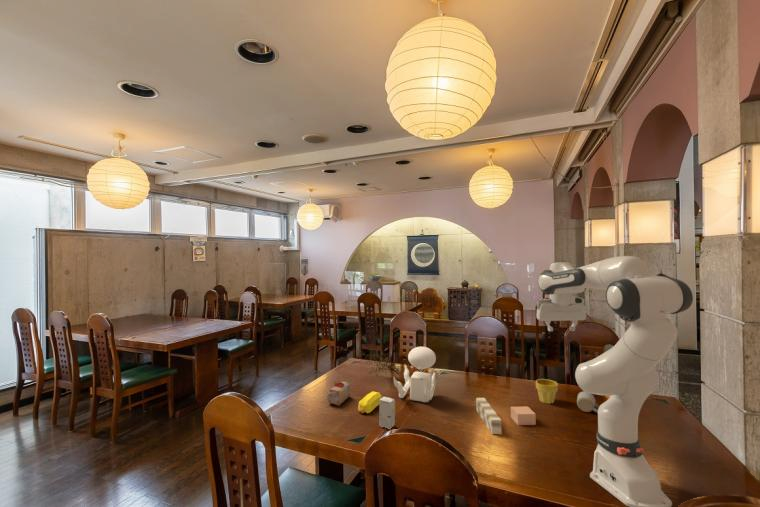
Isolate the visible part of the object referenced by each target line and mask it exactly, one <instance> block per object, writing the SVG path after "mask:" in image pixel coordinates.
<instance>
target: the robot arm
mask: <svg viewBox="0 0 760 507" xmlns="http://www.w3.org/2000/svg"><path fill="white" fill-rule="evenodd" d="M537 286H538V289H540V291H542V293H544V294H545V295H547V296H549V297H548V298H544V299H543V298H542V299H539V300H538V301H537V302H536V316H535V318H536V319H537V320H538V321H540V322H544V323H545V325H546V327H547V331H548V332H554V327H553V326H551V325H550V324H551V322H560V321H561V322H564V321H565V322H566V321H567V322H568V321H571V322H572V324H571V325H569V326H568V327H569V331H571V332H574V331H575V332H576V326H577V325H578V322H579V321H585V320H587V308H586V305H585V298H582V297H578V296H576V295H573V294H581V293H584V292H585V291H586V290H587V289H590V290H596V291H597V290H599V291H605V299H606V304H607V305H608V306H609V308H610V309H611V311H613V312H614V314H616V315H618V316H619V318H620V319H621V320H623V321H625V322H628V323H630V326H629V327H628V328H627V329H626V331H625V332H624V333H623V335H622V336H621V337H620V338H619V339H618V341H617V342H616V343H615V345H613V346H612V347H611V348H610V349H608V350H606V351H605V352H603V353H601V354H600V355H598V356H596V357H595V358H593V359H590V360H587V361H585V362H582V363H579V364H578V365H577V367H576V369H575V373H574V377H575V381H576V383H577V385H578V387H579V388H580V389H581V390H582V392H583V391H584V392H586V393H591V394H592V395H598V396H609V398H608V399H607V400H606V401H604V402H603V403H601V404H600V405H599V406H600V407H599V409H598V408H597V410H598V413H597V430H596V442H597V446H596V449H595V450H594V454H593V464H592V466H593V467H592V471H591V472H590V473H589V478H590V479H592V480H593V481H594V482H596V483H597V484H598V485H600V486H601V487H602V489H605V490H606V491H607V492H608V493H610V494H611V495H612V496H614V497H615V498H617V500H619V501H620V502H621V503H623V505H625V506H626V507H672V506H673V502H672V500H671V499H670V498H669V497H668V496H667V495H666V494H665V493H664V491H663V490H662V486H661V482H660V479H659V474H658V471H657V470H656V469H653V468H652V467H651V465H650V463H649V462H648V460H647V459H646V458H645V456H644V455H643V454H644V453H645V451H644V450H645V448H642V445H641V444H642V443H641V441H640V439H639V437H638V436H639V433H638V430H639V429H638V428H639V426H638V425H639V416H640V412H641V409H642V407H643V404H644V403H645V401H646V400H647V399H648V397H649V396H650V395H651V394H652V393H655V391H656V390H658V387H659V385H660V378H659V375H658V372H657V370H656V369H655V367H656V366H657V365H658V364H659V363H660V362H661V361H662V360H663V359H664V358H665V356H666V355H668V353H669V352H670V351H671V349H672V347H673V346H674V344H675V342H676V340H677V337H678V334H679V333H678V328H677V326H676V324H675V323H674V322H673V321H672V320H671V319H669V318H668V317H667V315H670V314H671V315H676V314H680V313H683V312H685V311H687V310H688V309H690V308H691V306H692V305H693V302H694V301H693V299H694V298H693V292H692V290H691V288H690V286H689V285H688V284H687V283H686V282H684V281H683V280H680V279H679V278H678V279H677V278H674V277H671V276H668V275H666V274H664V273H658V274H653V273H651V272H650V270H649V267H648V265H647V263H646V262H645V261H644V260H643V259H641V258H639V257H637V256H632V255H631V256H630V255H621V256H613V257H609V258H605V259H602V260H599V261H596V262H595V261H594V262H593V263H590V264H586V265H583V266H580V267H576V268H574V267H573V266H572V264H571V262H569V261H555V262H552V263H551V264H550V265H549V269H545V270H543V271H542V272H541V273H540V274H539V276H538V278H537Z"/></svg>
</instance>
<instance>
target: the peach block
mask: <svg viewBox="0 0 760 507" xmlns="http://www.w3.org/2000/svg"><path fill="white" fill-rule="evenodd" d="M510 418H511V419H512V420H513V421H514V423H515V424H516V425H517V426H535V425H536V424H537V423H536V422H537V421H536V420H537V419H536V418H537V417H536V413H535V412H534V411H533V410H532V409H531V408H530V407H529V406H510Z"/></svg>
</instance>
